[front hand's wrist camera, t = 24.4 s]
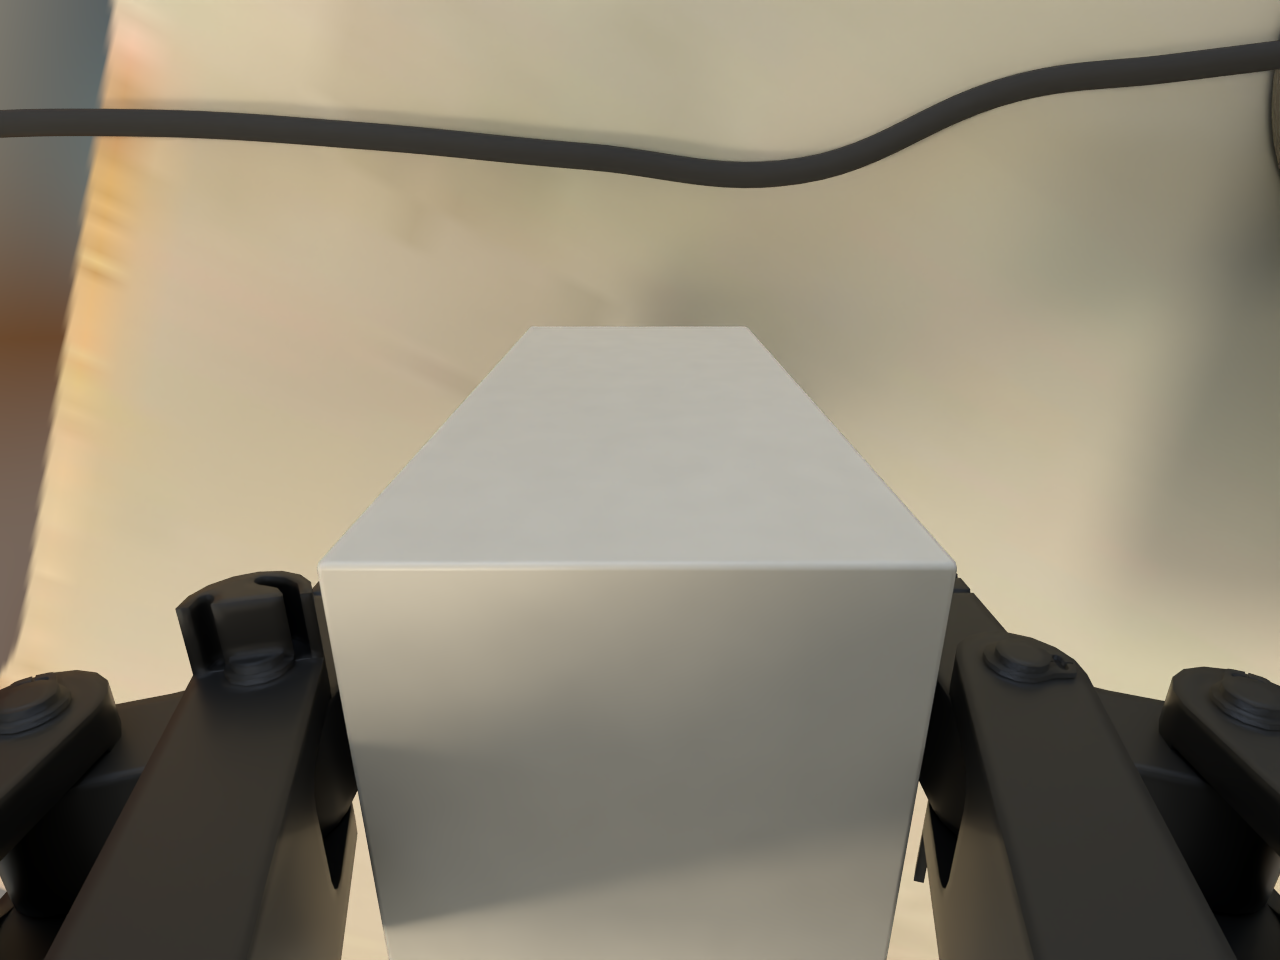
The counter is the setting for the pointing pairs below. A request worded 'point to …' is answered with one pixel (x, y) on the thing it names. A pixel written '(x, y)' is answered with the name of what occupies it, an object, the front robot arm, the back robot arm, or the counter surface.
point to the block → (637, 663)
